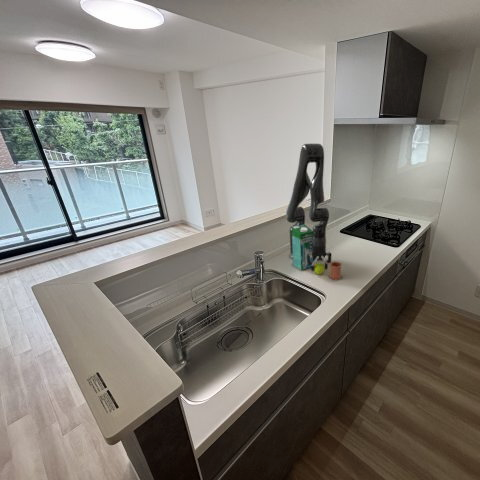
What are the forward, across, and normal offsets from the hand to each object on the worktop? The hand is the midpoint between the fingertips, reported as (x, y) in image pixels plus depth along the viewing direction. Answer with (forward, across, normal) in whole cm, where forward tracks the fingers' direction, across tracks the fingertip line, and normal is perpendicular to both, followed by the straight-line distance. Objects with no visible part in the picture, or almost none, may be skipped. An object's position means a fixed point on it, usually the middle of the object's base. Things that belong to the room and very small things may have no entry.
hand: (319, 270), depth 149 cm
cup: (+2, -8, +6) cm, 10 cm away
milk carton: (+2, +7, -12) cm, 14 cm away
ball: (-1, 0, 0) cm, 1 cm away
